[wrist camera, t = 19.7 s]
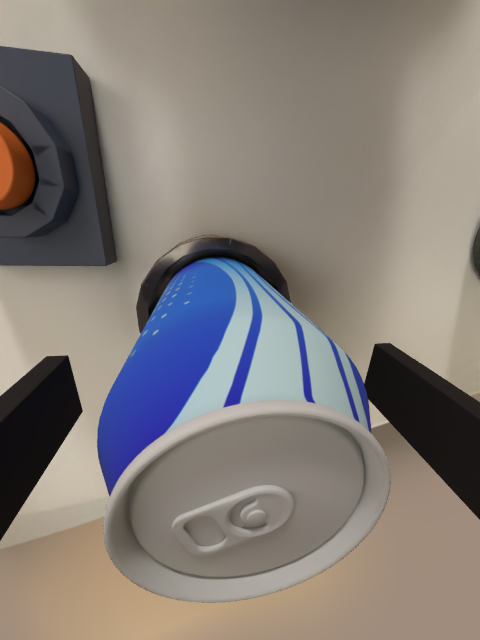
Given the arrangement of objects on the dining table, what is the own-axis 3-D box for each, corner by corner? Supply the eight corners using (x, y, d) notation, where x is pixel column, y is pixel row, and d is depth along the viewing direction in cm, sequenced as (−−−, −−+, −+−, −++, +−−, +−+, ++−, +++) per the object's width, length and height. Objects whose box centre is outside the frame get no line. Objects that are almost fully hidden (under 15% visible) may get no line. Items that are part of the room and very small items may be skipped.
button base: (-87, 57, 14) (-194, -4, 10) (89, 77, 15) (52, 28, 11) (-17, 260, 18) (-75, 270, 14) (116, 261, 19) (96, 270, 15)
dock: (139, 233, 18) (126, 235, 15) (283, 236, 20) (299, 239, 17) (154, 362, 22) (146, 386, 19) (272, 357, 24) (283, 377, 21)
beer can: (181, 237, 18) (92, 300, 3) (281, 275, 20) (500, 416, 5) (152, 336, 20) (26, 628, 6) (244, 361, 23) (326, 618, 8)
